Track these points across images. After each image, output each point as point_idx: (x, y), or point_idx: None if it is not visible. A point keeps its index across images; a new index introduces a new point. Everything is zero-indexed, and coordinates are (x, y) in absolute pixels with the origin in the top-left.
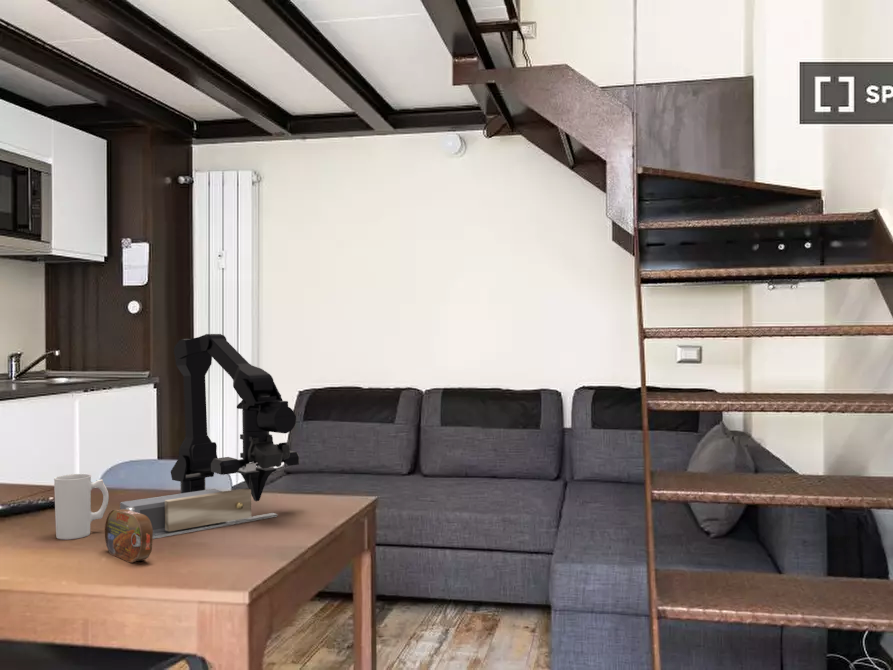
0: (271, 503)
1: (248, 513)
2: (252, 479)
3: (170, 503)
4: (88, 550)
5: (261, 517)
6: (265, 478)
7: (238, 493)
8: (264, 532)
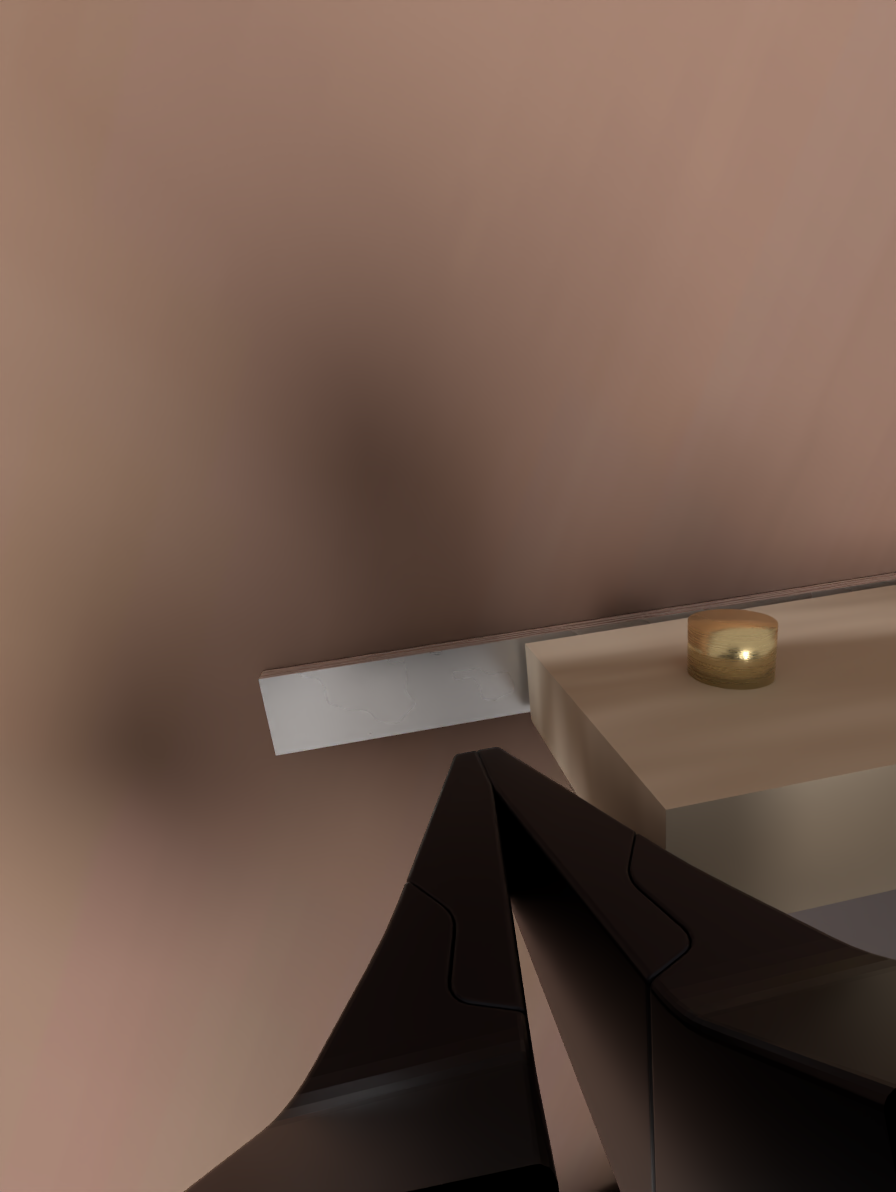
0: (172, 1108)
1: (565, 652)
2: (811, 956)
3: None
4: None
5: (422, 653)
6: (394, 1034)
7: (854, 743)
8: (579, 127)
